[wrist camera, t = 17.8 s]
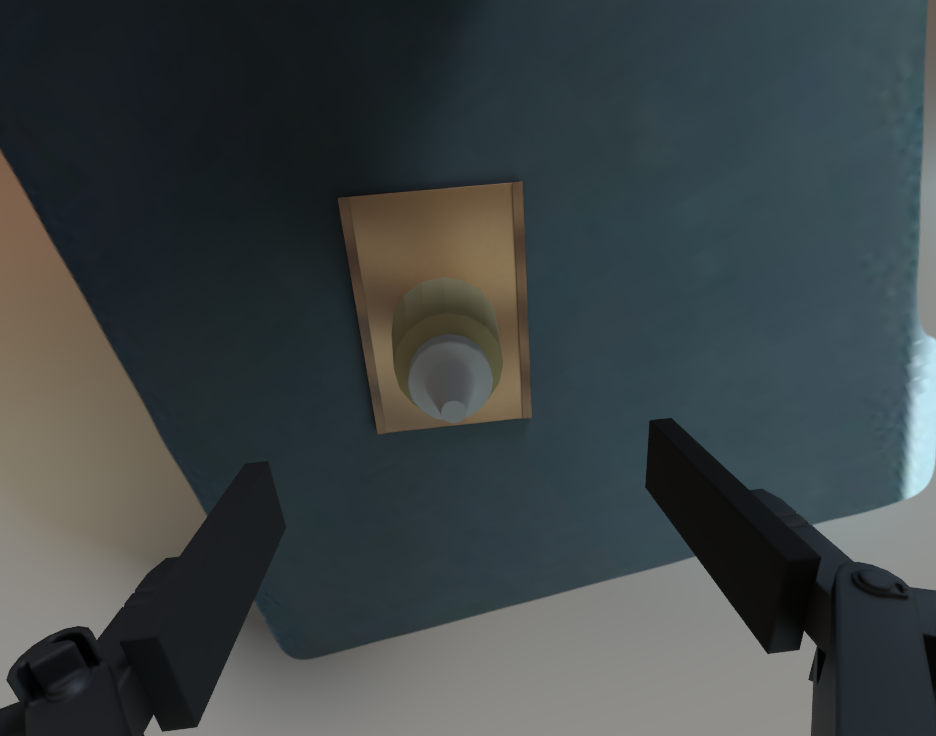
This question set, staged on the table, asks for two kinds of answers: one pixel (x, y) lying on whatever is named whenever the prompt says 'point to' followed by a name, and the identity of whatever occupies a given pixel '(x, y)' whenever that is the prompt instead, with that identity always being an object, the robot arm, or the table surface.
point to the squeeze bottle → (446, 348)
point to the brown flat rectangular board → (433, 256)
